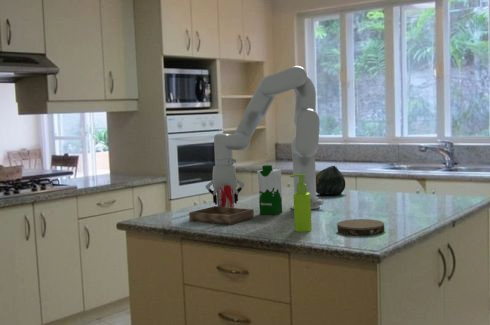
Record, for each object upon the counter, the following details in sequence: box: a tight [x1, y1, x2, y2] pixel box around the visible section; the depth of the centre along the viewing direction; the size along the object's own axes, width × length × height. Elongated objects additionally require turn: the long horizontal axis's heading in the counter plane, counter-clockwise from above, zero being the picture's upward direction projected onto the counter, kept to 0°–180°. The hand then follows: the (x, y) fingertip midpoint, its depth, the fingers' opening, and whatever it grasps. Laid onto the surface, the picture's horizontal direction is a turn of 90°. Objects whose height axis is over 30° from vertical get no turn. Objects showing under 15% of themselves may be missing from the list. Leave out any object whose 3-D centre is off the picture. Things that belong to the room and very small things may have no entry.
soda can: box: [216, 184, 235, 208], centre depth 264 cm, size 7×7×12 cm
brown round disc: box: [336, 218, 385, 237], centre depth 214 cm, size 16×16×3 cm
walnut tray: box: [188, 205, 255, 226], centre depth 247 cm, size 20×16×4 cm
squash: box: [315, 165, 346, 196], centre depth 300 cm, size 14×15×15 cm
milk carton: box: [256, 164, 283, 216], centre depth 256 cm, size 9×9×20 cm
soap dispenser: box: [289, 174, 312, 233], centre depth 218 cm, size 6×7×20 cm
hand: (225, 203), depth 264 cm, fingers open, 7 cm apart
